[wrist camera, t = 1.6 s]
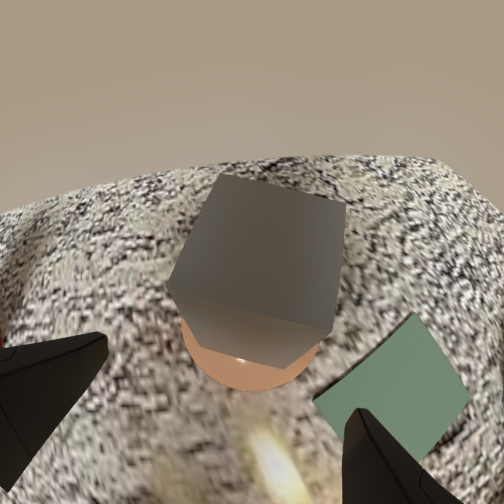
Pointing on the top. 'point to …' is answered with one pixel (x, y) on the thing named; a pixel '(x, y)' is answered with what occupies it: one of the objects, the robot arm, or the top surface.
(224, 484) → the top surface
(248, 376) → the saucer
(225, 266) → the grey tall block
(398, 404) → the mat
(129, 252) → the top surface
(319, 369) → the top surface
